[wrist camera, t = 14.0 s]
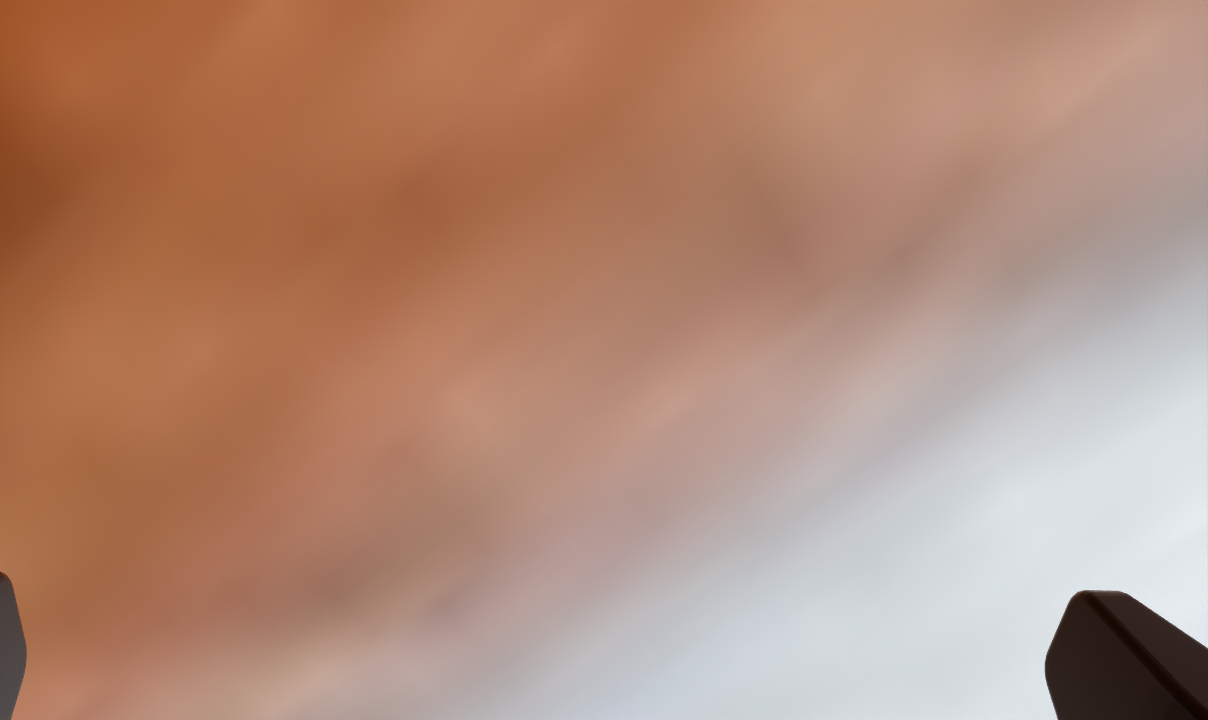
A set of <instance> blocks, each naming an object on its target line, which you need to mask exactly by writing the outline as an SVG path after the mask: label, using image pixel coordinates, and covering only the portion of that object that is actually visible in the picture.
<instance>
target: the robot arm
mask: <svg viewBox="0 0 1208 720" xmlns="http://www.w3.org/2000/svg"><path fill="white" fill-rule="evenodd" d="M26 658H27V650H26V642H25V638H24V633H23V629H22V625H21V620H20V616H19V611H18V607H17V603H16V598H15V594H14V590H13V586H12V583H11V581H10V579H9V578H8V576H7V575H6V574H4V573H2V572H0V720H11V718H12V714H13V711H14V707H15V704H16V701H17V697H18V694H19V691H20V687H21V684H22V681H23V677H24V673H25V667H26ZM1045 677H1046V682H1047V686H1048V689H1049V693H1050V696H1051V699H1052V702H1053V706H1054V709H1055V712H1056V715H1057V718H1058V720H1208V648H1207V647H1205V646H1204V645H1202V644H1201V643H1199V642H1198V641H1196V640H1195V639H1193V638H1192V637H1190V636H1189V635H1187V634H1186V633H1184V632H1183V631H1182V630H1180V629H1179V628H1177V627H1176V626H1174V625H1173V624H1171V623H1170V622H1168V621H1167V620H1165V619H1164V618H1162V617H1161V616H1159V615H1158V614H1156V613H1155V612H1154V611H1152V610H1151V609H1149V608H1148V607H1146V606H1145V605H1143V604H1142V603H1140V602H1139V601H1137V600H1136V599H1134V598H1133V597H1131V596H1130V595H1128V594H1126V593H1123V592H1120V591H1099V590H1084V591H1080V592H1078V593H1076V594H1075V595H1074V596H1073V597H1072V598H1071V599H1070V601H1069V603H1068V605H1067V608H1066V610H1065V612H1064V615H1063V617H1062V619H1061V622H1060V624H1059V626H1058V629H1057V631H1056V633H1055V635H1054V638H1053V640H1052V642H1051V645H1050V647H1049V649H1048V652H1047V655H1046V660H1045Z"/></svg>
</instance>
